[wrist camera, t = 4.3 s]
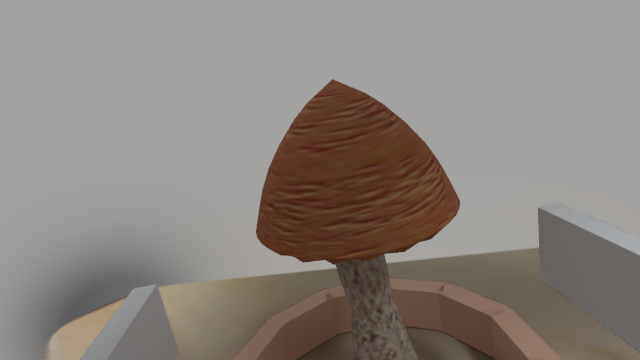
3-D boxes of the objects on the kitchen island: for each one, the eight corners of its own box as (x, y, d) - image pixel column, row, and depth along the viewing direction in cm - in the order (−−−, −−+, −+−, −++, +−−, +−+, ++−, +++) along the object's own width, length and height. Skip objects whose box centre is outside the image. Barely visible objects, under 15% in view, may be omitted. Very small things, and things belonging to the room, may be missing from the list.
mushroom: (300, 516, 14) (196, 103, 10) (303, 362, 22) (244, 95, 18) (517, 480, 14) (490, 50, 10) (442, 338, 22) (411, 65, 18)
